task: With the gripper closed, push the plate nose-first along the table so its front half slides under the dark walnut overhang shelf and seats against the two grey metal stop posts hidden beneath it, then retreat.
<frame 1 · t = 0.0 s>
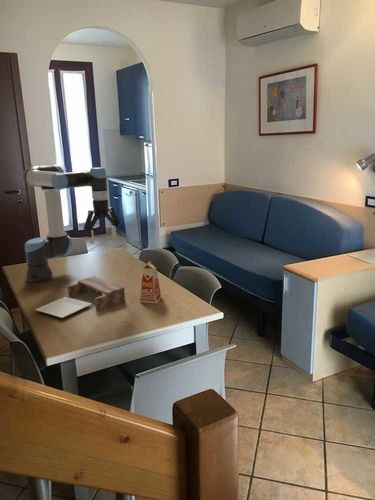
hand: (103, 240, 209), 28 cm above the table, fingers open, 13 cm apart
plate: (64, 310, 195), on the table
milk carton: (150, 299, 206), on the table
overhang shelf: (106, 295, 212), on the table
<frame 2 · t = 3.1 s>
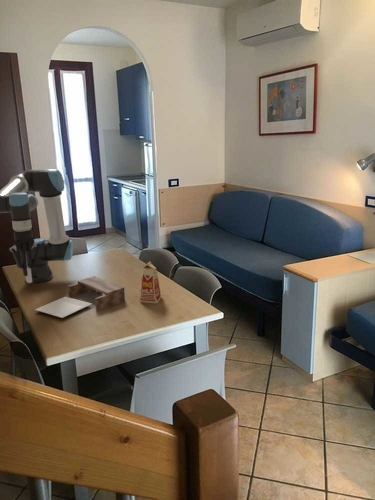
hand: (29, 282, 180), 18 cm above the table, fingers closed
nothing on the table moved.
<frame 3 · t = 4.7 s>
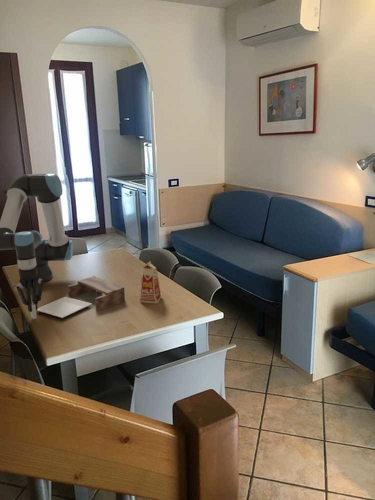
hand: (33, 317, 185), 1 cm above the table, fingers closed
nothing on the table moved.
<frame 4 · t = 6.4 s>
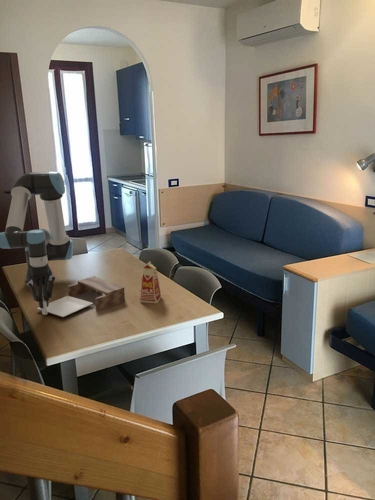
hand: (44, 313, 188), 1 cm above the table, fingers closed
plate: (65, 309, 196), on the table, touching gripper
everything else where it was.
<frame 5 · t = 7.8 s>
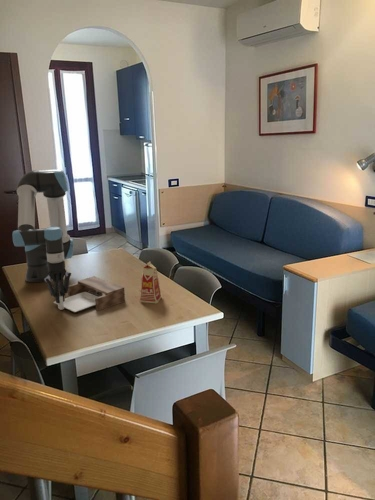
hand: (61, 308, 194), 1 cm above the table, fingers closed
plate: (80, 305, 201), on the table, touching gripper
everything else where it was.
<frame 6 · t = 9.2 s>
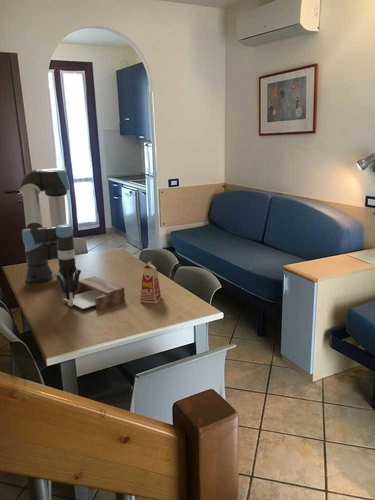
hand: (70, 305, 197), 1 cm above the table, fingers closed
plate: (89, 302, 204), on the table, touching gripper, overhang shelf
everything else where it was.
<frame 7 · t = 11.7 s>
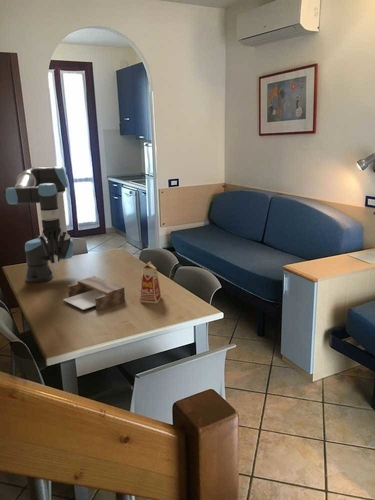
hand: (55, 269, 189), 21 cm above the table, fingers closed
plate: (89, 302, 204), on the table
everything else where it was.
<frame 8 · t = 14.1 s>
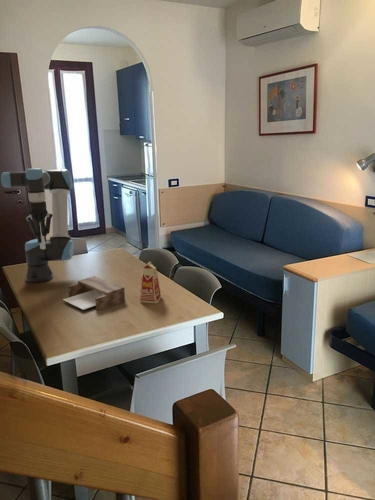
hand: (42, 248, 203), 26 cm above the table, fingers closed
nothing on the table moved.
at the end: plate inside the target area (1.7 cm from its centre), on the table; plate tilted 0° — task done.
